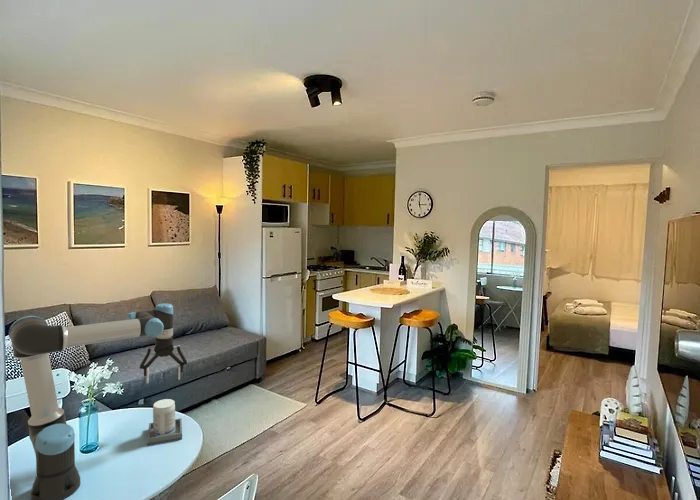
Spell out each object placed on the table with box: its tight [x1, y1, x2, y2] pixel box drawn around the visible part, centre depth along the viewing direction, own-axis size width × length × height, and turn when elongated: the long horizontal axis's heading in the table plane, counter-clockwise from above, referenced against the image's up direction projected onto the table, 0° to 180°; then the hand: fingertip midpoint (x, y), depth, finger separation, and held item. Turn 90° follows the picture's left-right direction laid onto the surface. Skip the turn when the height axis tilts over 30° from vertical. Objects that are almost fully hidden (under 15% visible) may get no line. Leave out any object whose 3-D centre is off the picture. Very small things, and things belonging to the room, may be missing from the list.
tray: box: [146, 417, 183, 446], centre depth 191 cm, size 15×15×3 cm
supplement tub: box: [152, 398, 176, 437], centre depth 190 cm, size 10×10×15 cm
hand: (163, 380), depth 188 cm, fingers open, 13 cm apart
